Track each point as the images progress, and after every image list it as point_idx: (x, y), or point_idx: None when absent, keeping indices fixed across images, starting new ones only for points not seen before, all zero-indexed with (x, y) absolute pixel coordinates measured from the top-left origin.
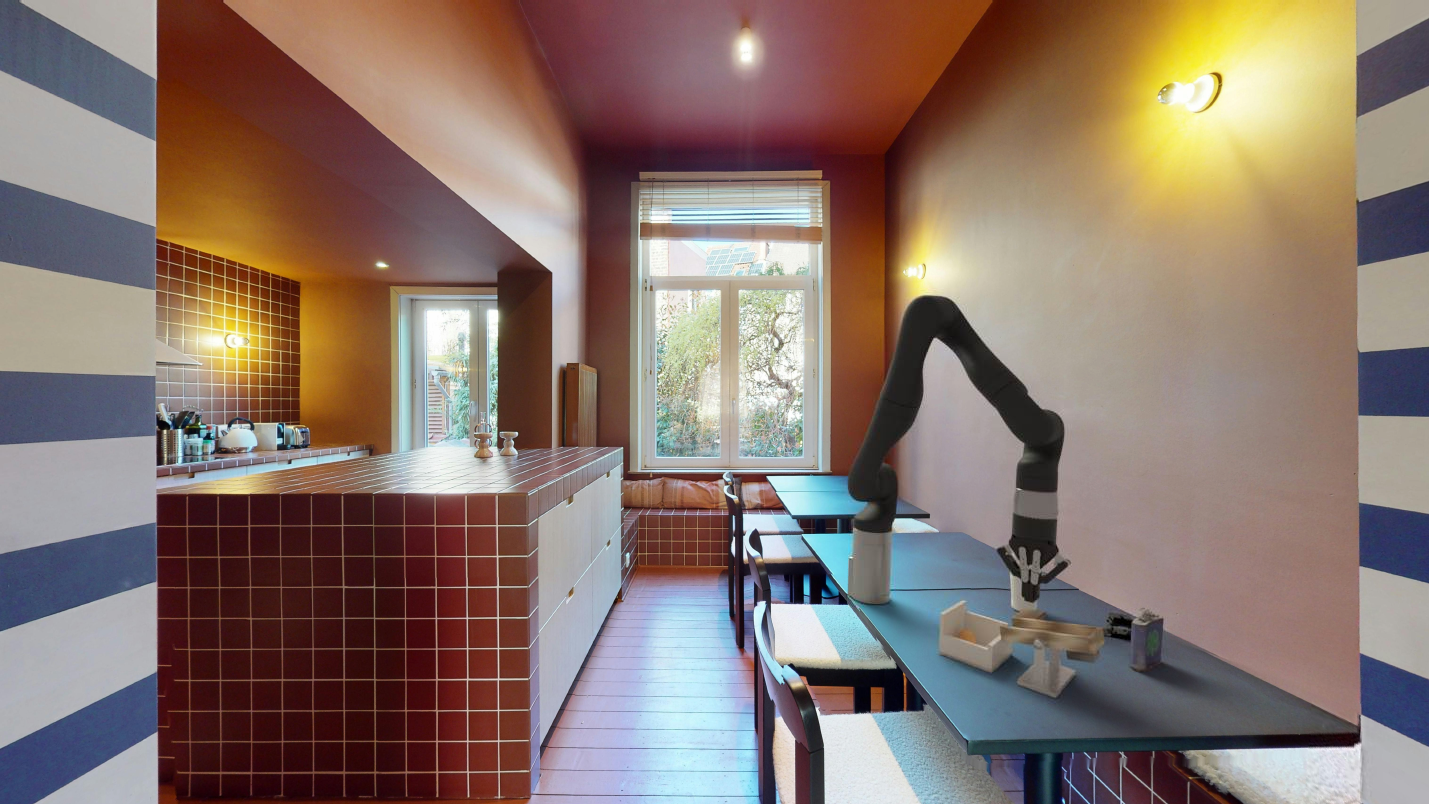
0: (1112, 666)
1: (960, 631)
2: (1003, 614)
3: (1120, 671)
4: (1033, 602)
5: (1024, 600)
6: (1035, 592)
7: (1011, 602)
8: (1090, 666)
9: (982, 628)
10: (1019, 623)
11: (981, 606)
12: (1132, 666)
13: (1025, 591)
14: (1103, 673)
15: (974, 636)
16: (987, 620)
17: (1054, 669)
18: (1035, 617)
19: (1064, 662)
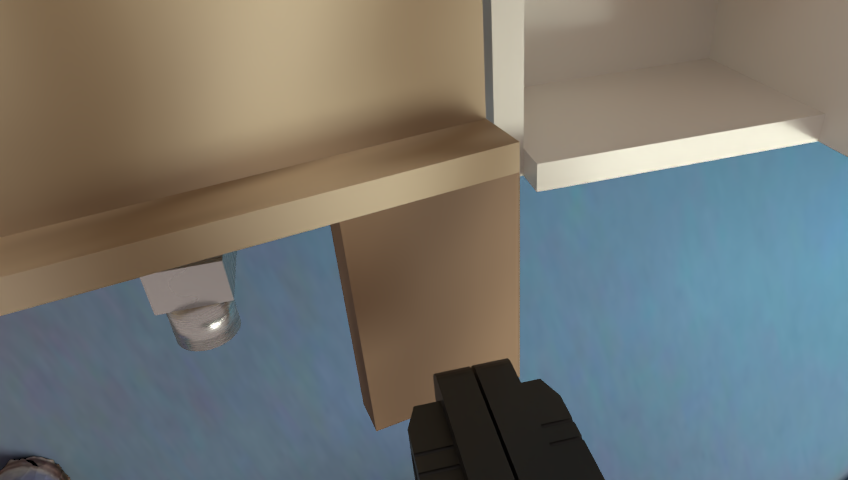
0: (100, 414)
1: (752, 18)
2: (628, 459)
3: (48, 401)
4: (435, 391)
5: (506, 358)
6: (442, 476)
7: None
8: (150, 335)
9: (657, 104)
10: (442, 141)
11: (717, 449)
12: (32, 467)
13: (533, 427)
14: (70, 320)
15: None
16: (663, 134)
17: None
18: (363, 270)
19: (242, 271)
